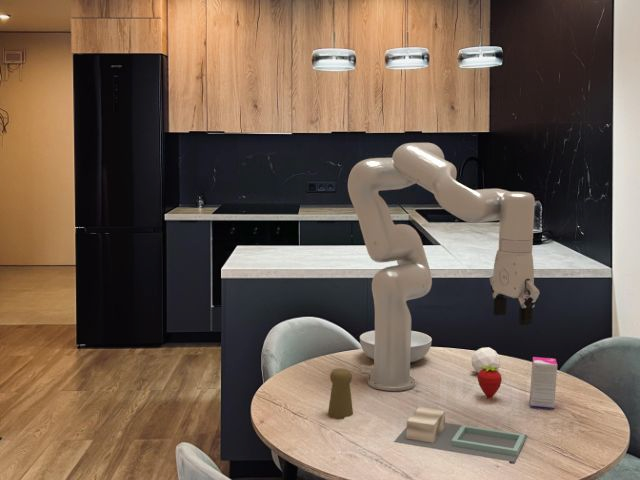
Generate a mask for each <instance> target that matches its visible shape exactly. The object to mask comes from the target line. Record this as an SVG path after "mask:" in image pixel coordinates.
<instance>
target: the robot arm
mask: <svg viewBox="0 0 640 480" xmlns="http://www.w3.org/2000/svg"><path fill="white" fill-rule="evenodd" d="M457 173H458V172H457V168H456V166H455V165H454V164H453V163H452V162H450V161H448V160H446V159H445V155H444V152H443V150H442V149H441V148H440V147H439V146H438V145H436V144H435V143H431V142H408V143H403V144H401V145H400V146H398V147H397V148H396V149H395V150H394V151H393V154H392V157H374V158H367V159H363V160H360V161H359V162H358V163H356V164H355V165H354V166H353V167H352V168H351V170H350V173H349V175H348V178H347V179H348V180H347V191H348V195H349V199H350V201H351V203H352V206H353V208H354V210H355V213H356V216H357V218H358V222H359V223H358V224H359V227H360V230H361V233H362V237H363V242H364V244H365V248H366V250H367V253H368V256H369V257H370V259H371V260H372V261H373V262H374V263H375V262H376V263H390V262H396V263H397V264H396V265H391V266H386V267H384V268H382V269H381V268H380V270H378V271H377V272H376V273H375V275H373V278H372V281H371V292H372V296H373V304H374V305H373V306H374V331H375V345H374V359H373V364H371V365H367V364H360V365H359V368H358V369H359V372H360V374H361V375H362V374H363V375H369V377H368V378H367V385H368V386H370V387H371V388H373V389H377V390H381V391H387V392H401V391H408V390H410V389H414V387H415V386H416V379H415V378H414V377H413V376H411V362H410V351H411V331H412V316H411V312H410V309H409V307H408V304H407V301H410V300H415V299H420V298H422V297H424V296H426V295H427V294H428V293H429V292H430V291H431V288H432V285H433V280H432V279H433V278H432V277H433V276H432V272H431V269H430V265H429V262H428V258H427V255H426V251H425V248H424V245H423V242H422V238H421V236H420V234H419V233H418V232H417V230H416V229H415V228H414V227H412V226H411V225H409V224H402V223H399V224H398V223H397V224H395V223H394V221H393V218H392V216H391V212H390V211H391V210H390V209H389V206H388V204H387V203H386V200H384V199H383V197H381V196H380V195H379V192H380V191H391V190H402V189H404V188H407V187H408V188H409V187H410V186H414V185H415V184H417V185H418V186H420V187H422V188H423V189H425V190H426V191H429V192H430V193H432V194H433V195H434V199H435V200H436V201H437V203H438V204H439V206H440V207H441V208H442V209H444V210H445V211H447V212H448V213H450V214H451V215H453V216H455V217H456V218H458V219H460V220H463V221H464V222H466V223H471V224H478V223H485V222H495V221H499V227H498V228H499V229H498V230H499V233H498V235H499V236H498V249H497V250H496V254H495V258H494V263H493V270H492V271H493V272H492V276H490V277H489V283H490V286H491V287H490V289H491V291H492V298H493V313H492V314H493V315H494V316H497V317H498V316H504V315H507V303H508V302H507V297H509V298H512V299H518V301H519V304H520V306H521V307H519V308H518V309H519V310H518V325H519V326H525V325H532V323H533V308H535V304H536V303H537V302H538V298H539V295H540V290H539V288H538V287H536V285H535V283H534V281H535V273H534V271H535V270H534V258H533V245H534V244H533V242H534V240H533V239H534V221H535V202H536V201H535V200H536V199H535V197H534V196H535V195H534V194H532V193H531V192H526V191H509V190H507V189H501V188H483V189H472V188H469V187H467V185H464V184H462V183H460V182H458V180H456V179H457ZM525 299H526V300H525Z"/></svg>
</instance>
